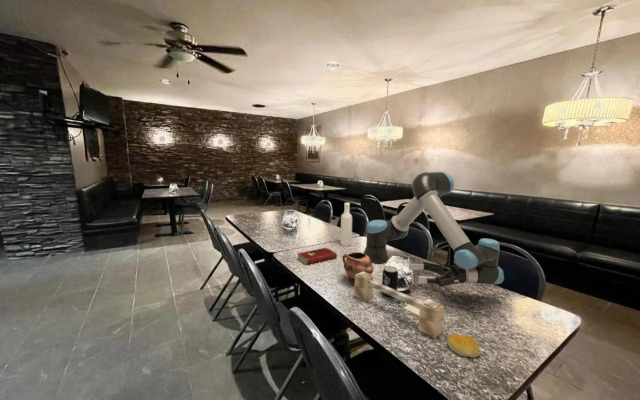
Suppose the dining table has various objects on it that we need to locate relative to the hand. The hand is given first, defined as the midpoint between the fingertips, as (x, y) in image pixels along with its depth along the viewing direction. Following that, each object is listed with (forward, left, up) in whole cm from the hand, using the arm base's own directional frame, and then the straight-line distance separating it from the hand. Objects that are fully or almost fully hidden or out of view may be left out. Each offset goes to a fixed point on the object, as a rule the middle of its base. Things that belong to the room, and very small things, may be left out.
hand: (413, 272), depth 113 cm
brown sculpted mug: (-25, -9, -11) cm, 29 cm away
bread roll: (+28, -18, -11) cm, 35 cm away
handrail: (+2, -18, -11) cm, 21 cm away
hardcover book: (-60, -5, -11) cm, 61 cm away
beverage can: (-7, -7, -11) cm, 15 cm away
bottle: (-66, +28, -11) cm, 73 cm away
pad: (+9, -7, -11) cm, 15 cm away
